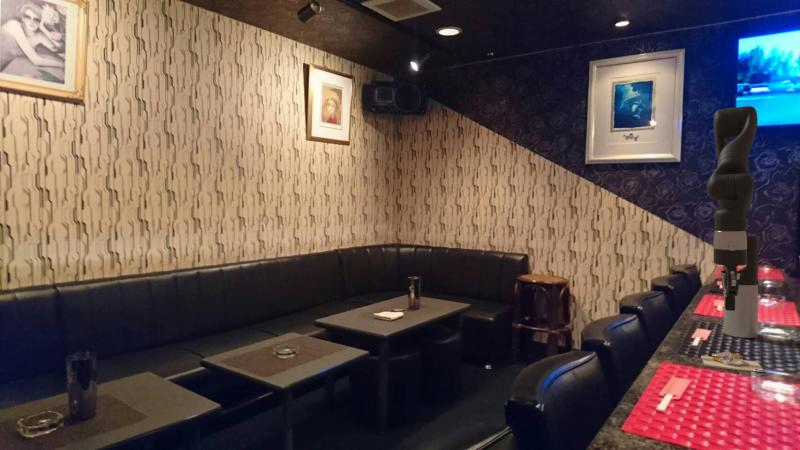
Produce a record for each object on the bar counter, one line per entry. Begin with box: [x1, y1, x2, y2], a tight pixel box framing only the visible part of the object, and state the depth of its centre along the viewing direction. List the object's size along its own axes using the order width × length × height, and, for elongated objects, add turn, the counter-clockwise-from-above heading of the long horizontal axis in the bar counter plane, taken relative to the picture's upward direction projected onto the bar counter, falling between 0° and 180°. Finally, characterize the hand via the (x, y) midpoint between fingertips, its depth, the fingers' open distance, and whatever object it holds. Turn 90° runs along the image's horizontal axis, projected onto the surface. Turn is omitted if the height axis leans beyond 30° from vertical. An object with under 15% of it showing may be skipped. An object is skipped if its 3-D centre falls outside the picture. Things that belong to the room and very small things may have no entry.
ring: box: [711, 351, 743, 364], centre depth 133 cm, size 7×3×8 cm
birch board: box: [700, 355, 764, 373], centre depth 130 cm, size 9×13×1 cm
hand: (729, 310), depth 132 cm, fingers closed
